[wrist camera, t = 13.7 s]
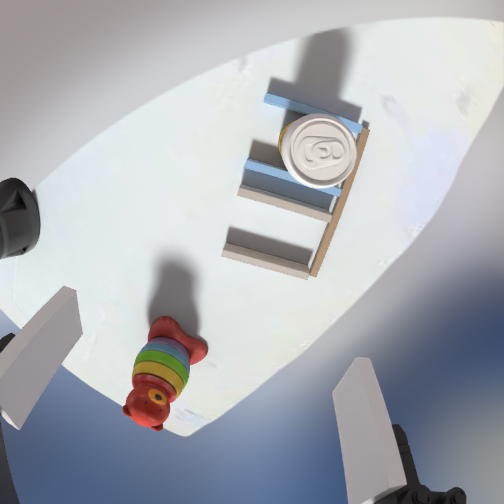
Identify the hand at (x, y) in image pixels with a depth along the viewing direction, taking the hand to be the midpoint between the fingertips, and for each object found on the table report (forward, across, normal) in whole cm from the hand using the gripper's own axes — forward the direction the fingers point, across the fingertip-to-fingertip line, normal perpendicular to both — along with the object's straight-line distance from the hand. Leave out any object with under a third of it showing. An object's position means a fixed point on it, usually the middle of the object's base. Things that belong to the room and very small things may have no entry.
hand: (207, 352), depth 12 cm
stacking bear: (+28, -7, -29) cm, 41 cm away
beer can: (+28, +5, +9) cm, 29 cm away
